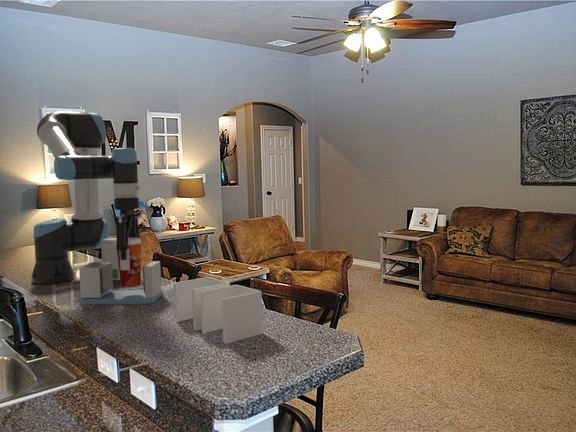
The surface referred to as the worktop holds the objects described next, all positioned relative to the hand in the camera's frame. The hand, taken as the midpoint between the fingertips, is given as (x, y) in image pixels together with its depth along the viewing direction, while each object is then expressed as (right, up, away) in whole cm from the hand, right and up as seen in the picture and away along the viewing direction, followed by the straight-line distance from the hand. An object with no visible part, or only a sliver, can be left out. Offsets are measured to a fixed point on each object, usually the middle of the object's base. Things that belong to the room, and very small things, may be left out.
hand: (130, 267), depth 167 cm
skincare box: (-16, -8, +35) cm, 40 cm away
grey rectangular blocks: (+32, -13, -31) cm, 47 cm away
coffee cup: (0, -6, 0) cm, 6 cm away
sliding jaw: (-11, -9, +1) cm, 14 cm away
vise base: (-3, -11, +1) cm, 11 cm away
